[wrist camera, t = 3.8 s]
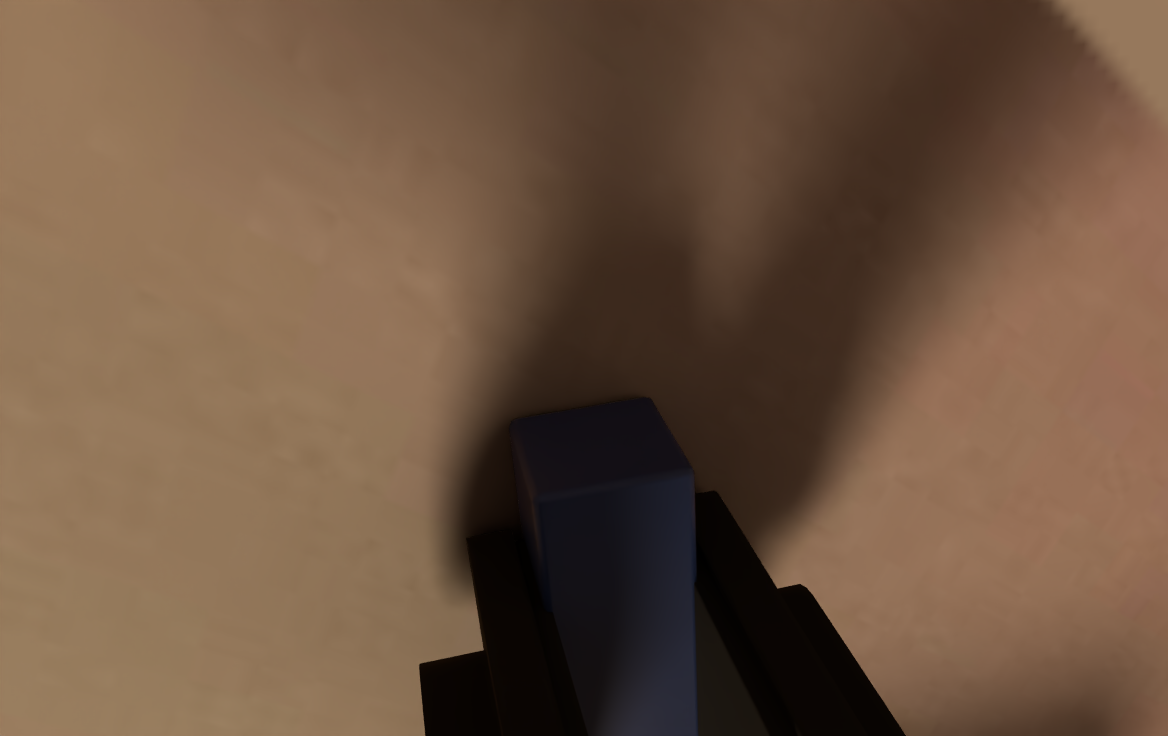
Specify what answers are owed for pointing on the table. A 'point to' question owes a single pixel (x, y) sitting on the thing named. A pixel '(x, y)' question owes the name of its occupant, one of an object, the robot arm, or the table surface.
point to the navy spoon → (615, 560)
